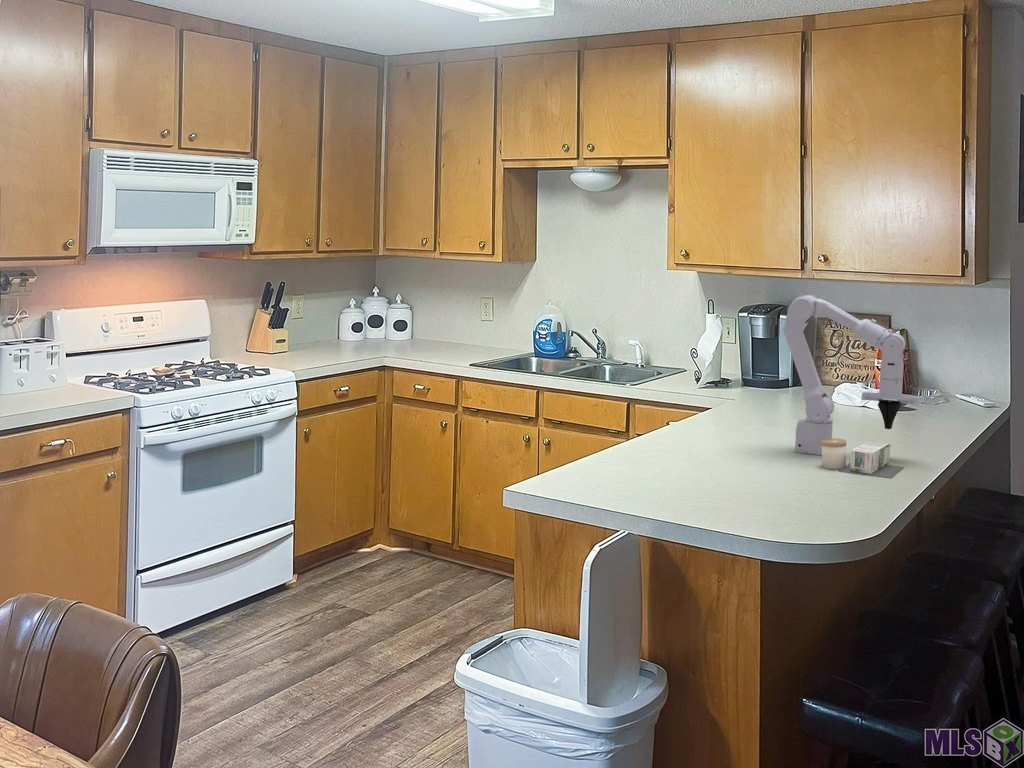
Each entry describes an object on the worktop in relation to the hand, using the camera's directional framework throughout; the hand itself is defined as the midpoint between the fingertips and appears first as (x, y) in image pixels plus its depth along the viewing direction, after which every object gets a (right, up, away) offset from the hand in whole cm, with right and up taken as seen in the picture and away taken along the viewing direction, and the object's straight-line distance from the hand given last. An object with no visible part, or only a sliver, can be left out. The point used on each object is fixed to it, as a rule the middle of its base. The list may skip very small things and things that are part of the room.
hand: (888, 428), depth 268 cm
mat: (-9, -10, -12) cm, 18 cm away
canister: (-18, -10, -9) cm, 22 cm away
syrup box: (-4, -6, -5) cm, 9 cm away
